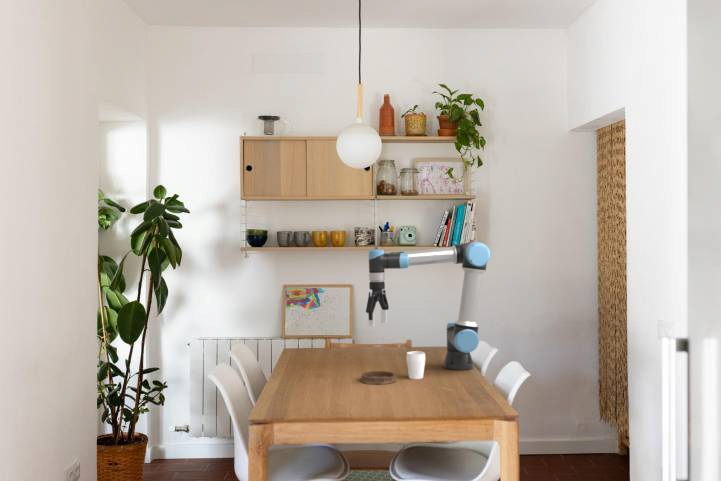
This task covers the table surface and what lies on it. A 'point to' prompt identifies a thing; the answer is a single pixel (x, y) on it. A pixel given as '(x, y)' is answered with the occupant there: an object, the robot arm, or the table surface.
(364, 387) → the table surface
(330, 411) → the table surface
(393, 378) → the round tray
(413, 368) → the cup
